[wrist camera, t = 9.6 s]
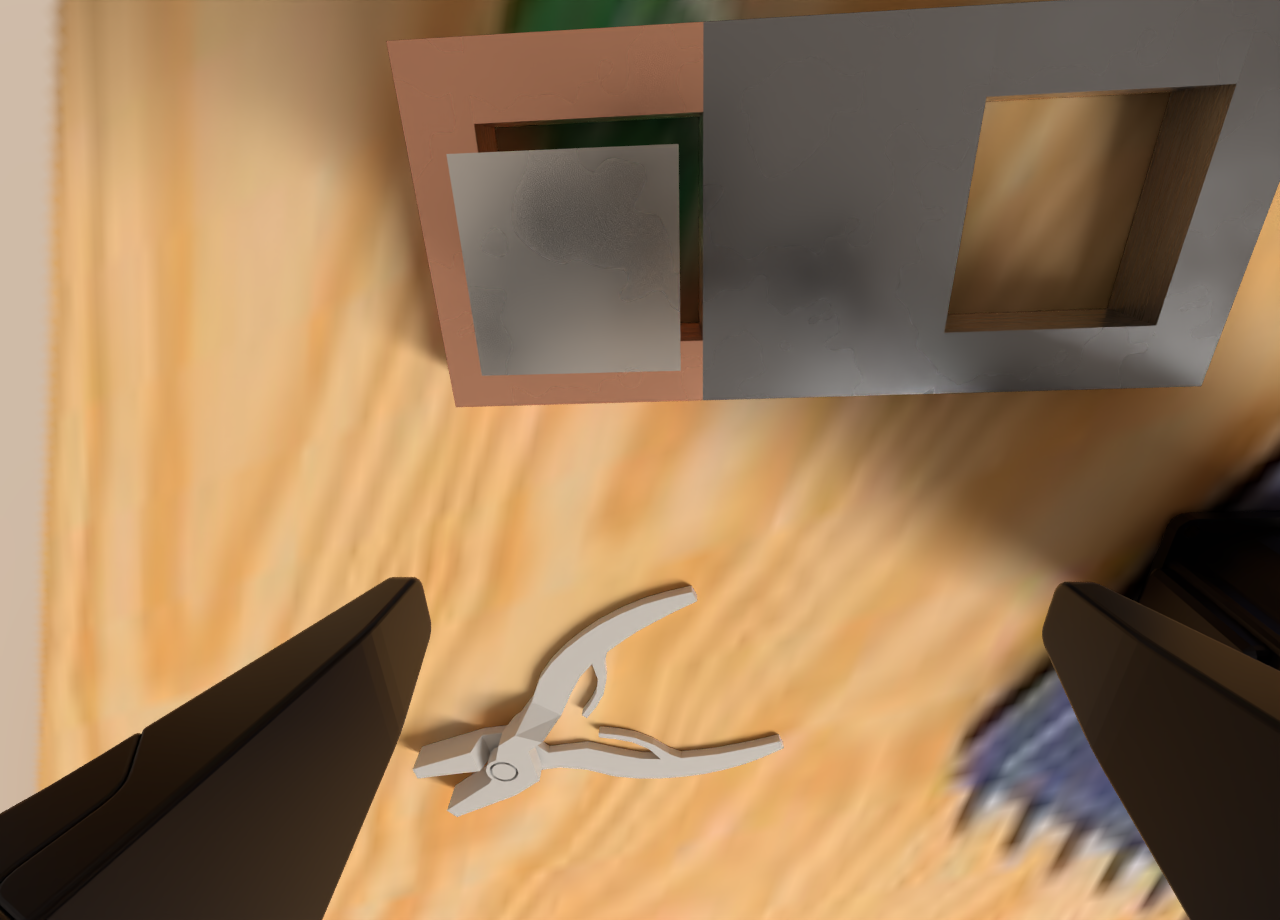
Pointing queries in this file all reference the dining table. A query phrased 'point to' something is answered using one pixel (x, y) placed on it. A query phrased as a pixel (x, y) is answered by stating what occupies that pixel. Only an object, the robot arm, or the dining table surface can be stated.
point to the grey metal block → (571, 258)
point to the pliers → (521, 745)
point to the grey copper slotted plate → (876, 188)
